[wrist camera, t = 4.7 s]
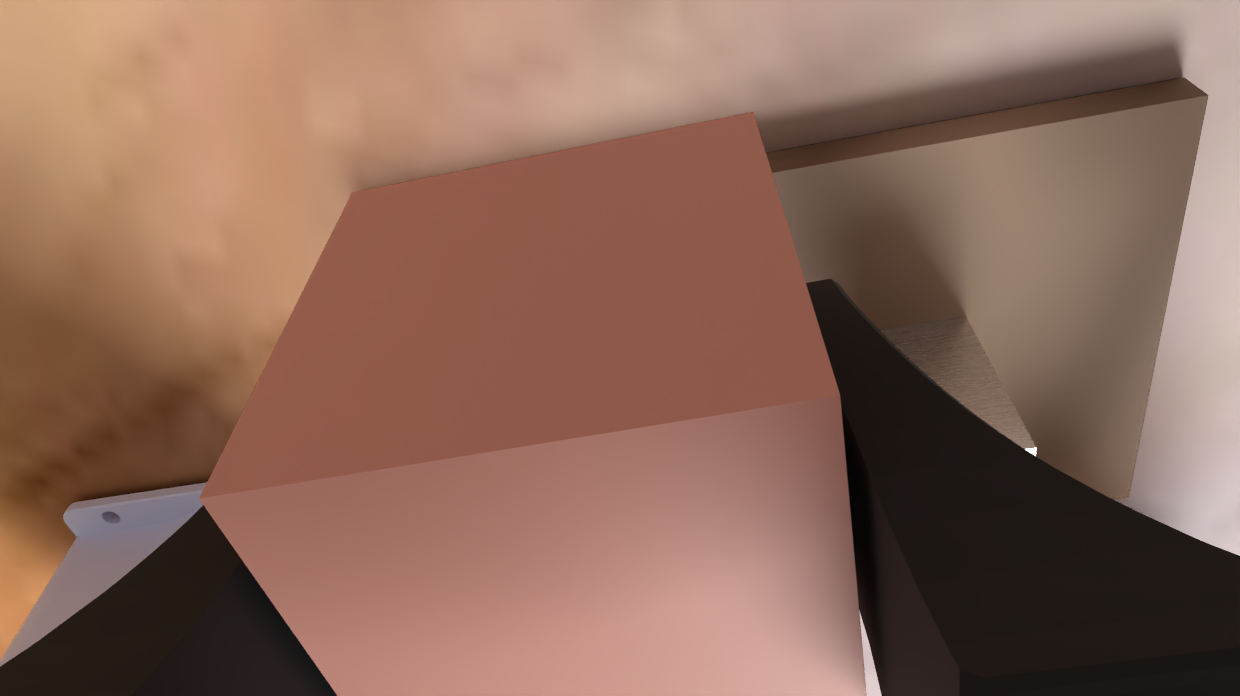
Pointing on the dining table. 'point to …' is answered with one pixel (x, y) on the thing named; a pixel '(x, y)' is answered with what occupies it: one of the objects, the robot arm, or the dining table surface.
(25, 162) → the dining table surface
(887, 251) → the taupe board
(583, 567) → the salmon pink cube
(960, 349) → the steel post
